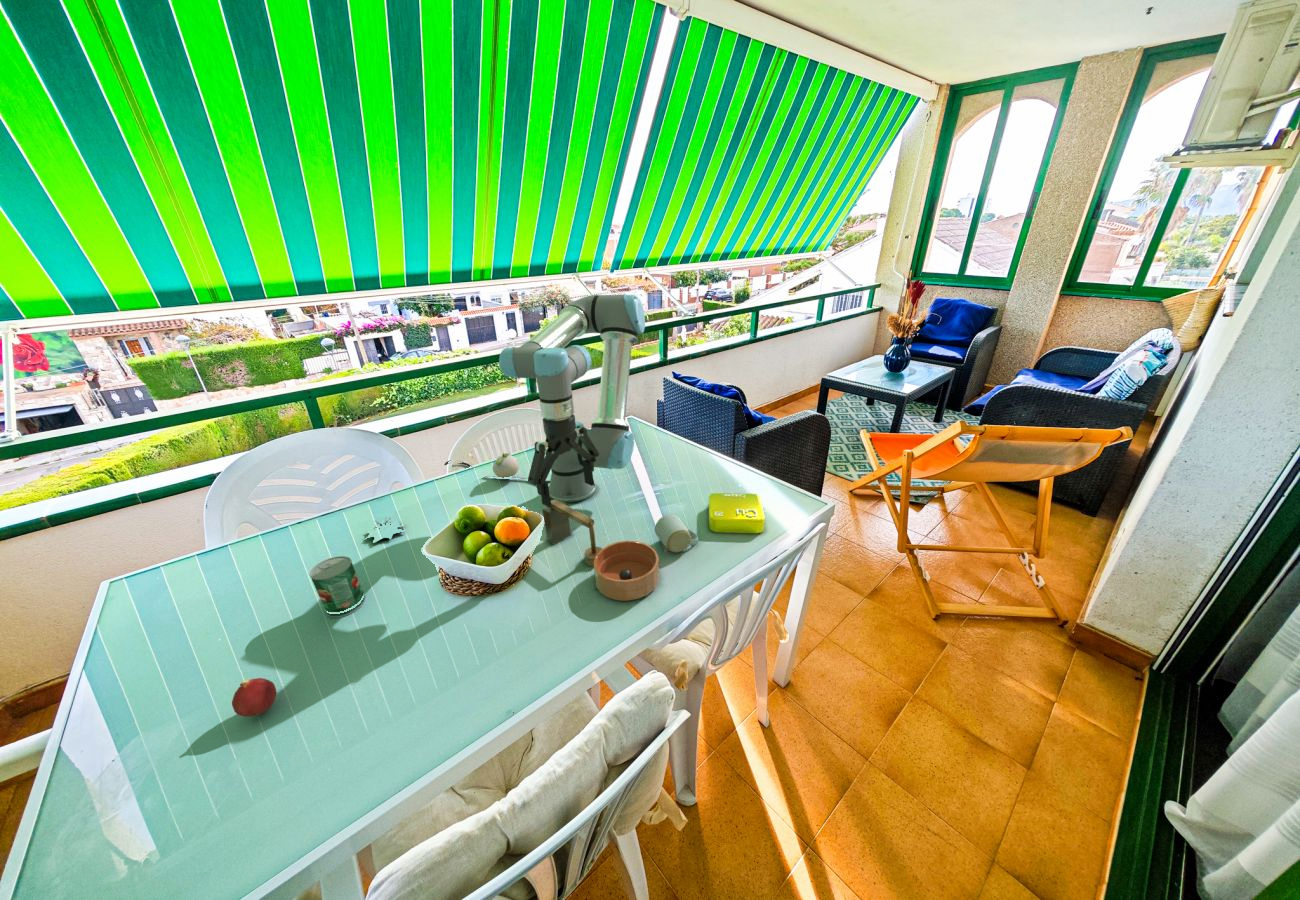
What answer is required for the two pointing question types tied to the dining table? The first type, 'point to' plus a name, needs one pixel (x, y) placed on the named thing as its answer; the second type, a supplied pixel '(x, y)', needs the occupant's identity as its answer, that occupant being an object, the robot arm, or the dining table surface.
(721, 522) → the element tile
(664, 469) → the dining table surface
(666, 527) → the ceramic mug
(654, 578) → the bowl
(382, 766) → the dining table surface
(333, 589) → the canned tomato
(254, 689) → the red plum
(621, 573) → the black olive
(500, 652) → the dining table surface
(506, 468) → the decorative fruit
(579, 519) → the ladle
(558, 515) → the dark upright slab
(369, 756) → the dining table surface
